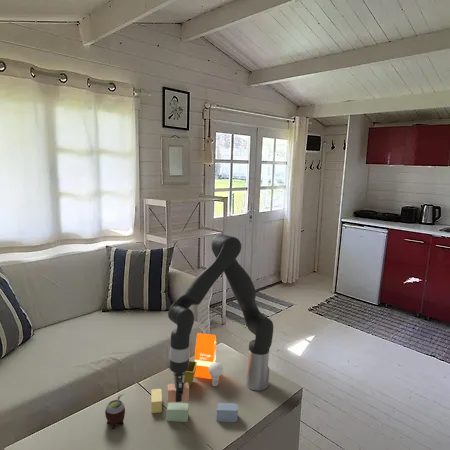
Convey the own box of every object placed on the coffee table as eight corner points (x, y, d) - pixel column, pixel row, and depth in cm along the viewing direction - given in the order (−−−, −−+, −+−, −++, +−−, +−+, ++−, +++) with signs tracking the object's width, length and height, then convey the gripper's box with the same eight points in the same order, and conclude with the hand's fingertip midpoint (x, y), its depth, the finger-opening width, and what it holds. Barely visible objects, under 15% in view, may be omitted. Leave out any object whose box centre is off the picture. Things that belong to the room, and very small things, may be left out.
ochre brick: (151, 400, 147) (151, 389, 146) (161, 399, 148) (161, 388, 147) (151, 413, 139) (151, 402, 138) (161, 412, 140) (161, 401, 139)
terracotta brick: (187, 394, 139) (188, 382, 138) (188, 400, 135) (189, 388, 134) (167, 395, 137) (167, 384, 136) (167, 402, 133) (167, 390, 132)
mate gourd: (109, 416, 136) (109, 380, 134) (129, 417, 136) (129, 382, 134) (102, 430, 129) (101, 393, 127) (123, 431, 129) (123, 394, 126)
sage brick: (188, 414, 139) (188, 403, 139) (187, 422, 136) (187, 410, 135) (168, 413, 139) (168, 402, 139) (166, 421, 136) (166, 409, 135)
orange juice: (197, 367, 172) (198, 329, 169) (215, 369, 171) (217, 331, 168) (193, 376, 164) (195, 336, 161) (212, 379, 163) (214, 339, 160)
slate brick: (236, 415, 141) (237, 403, 140) (237, 422, 137) (237, 410, 136) (216, 414, 141) (217, 403, 140) (216, 421, 137) (217, 409, 136)
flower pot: (196, 379, 163) (197, 361, 161) (192, 391, 154) (193, 372, 153) (177, 377, 163) (178, 359, 162) (173, 388, 155) (173, 370, 153)
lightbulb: (211, 391, 154) (212, 368, 153) (205, 383, 160) (206, 360, 158) (224, 387, 157) (225, 365, 156) (217, 380, 163) (219, 358, 161)
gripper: (191, 366, 127) (189, 409, 130) (187, 346, 141) (185, 385, 144) (170, 367, 126) (169, 410, 128) (168, 347, 139) (167, 387, 142)
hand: (178, 397), depth 136 cm, fingers closed on terracotta brick, 4 cm apart
